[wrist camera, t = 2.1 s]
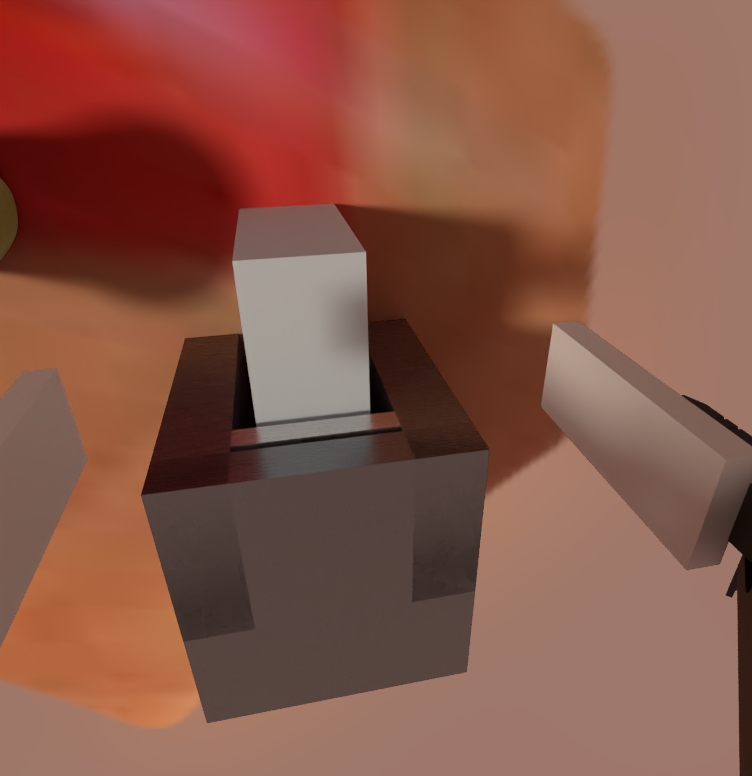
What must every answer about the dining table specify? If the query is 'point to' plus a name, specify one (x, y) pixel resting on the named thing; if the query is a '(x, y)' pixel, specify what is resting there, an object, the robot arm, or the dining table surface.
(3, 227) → the plant pot
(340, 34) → the dining table surface
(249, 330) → the upright grey box
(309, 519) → the box
